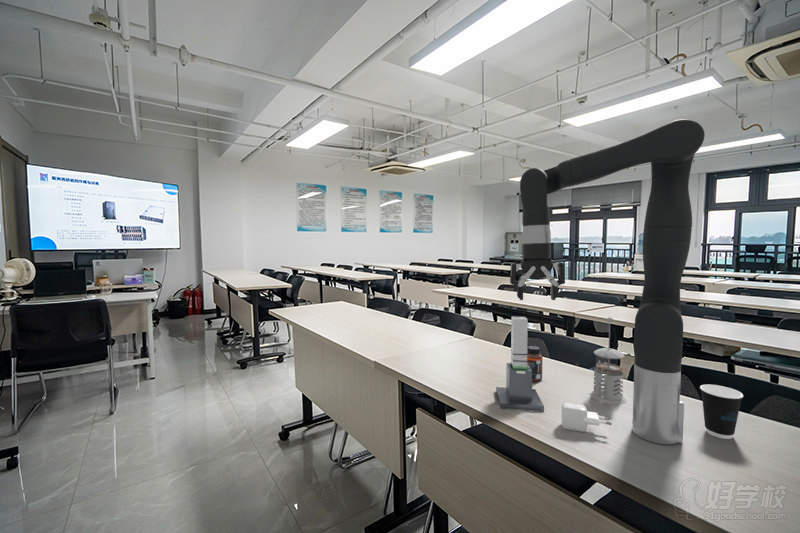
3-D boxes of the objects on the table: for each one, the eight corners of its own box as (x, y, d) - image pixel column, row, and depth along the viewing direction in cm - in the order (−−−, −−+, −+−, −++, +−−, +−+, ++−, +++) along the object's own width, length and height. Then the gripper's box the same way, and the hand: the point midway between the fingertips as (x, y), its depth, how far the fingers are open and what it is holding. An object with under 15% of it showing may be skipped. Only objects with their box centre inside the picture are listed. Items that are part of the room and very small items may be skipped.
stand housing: (535, 393, 112) (535, 361, 111) (543, 411, 100) (544, 375, 99) (496, 391, 114) (496, 359, 113) (500, 408, 102) (500, 373, 101)
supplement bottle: (543, 382, 121) (544, 350, 120) (525, 381, 122) (525, 349, 121) (540, 376, 127) (540, 345, 126) (523, 375, 128) (523, 344, 127)
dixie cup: (705, 422, 93) (706, 382, 92) (746, 436, 86) (748, 392, 86) (692, 431, 89) (694, 388, 88) (734, 446, 82) (737, 400, 81)
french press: (631, 398, 108) (634, 317, 106) (615, 409, 101) (618, 323, 99) (598, 388, 116) (600, 313, 114) (581, 397, 109) (582, 317, 107)
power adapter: (609, 429, 90) (609, 407, 90) (612, 439, 85) (612, 415, 85) (561, 421, 94) (561, 400, 94) (561, 430, 90) (562, 407, 89)
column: (524, 374, 108) (525, 316, 107) (527, 379, 104) (528, 319, 103) (510, 373, 109) (511, 316, 108) (512, 378, 105) (513, 319, 104)
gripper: (511, 242, 96) (512, 301, 97) (567, 240, 93) (568, 301, 94) (508, 243, 103) (509, 298, 104) (559, 241, 101) (560, 297, 101)
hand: (537, 299), depth 99 cm, fingers open, 8 cm apart
